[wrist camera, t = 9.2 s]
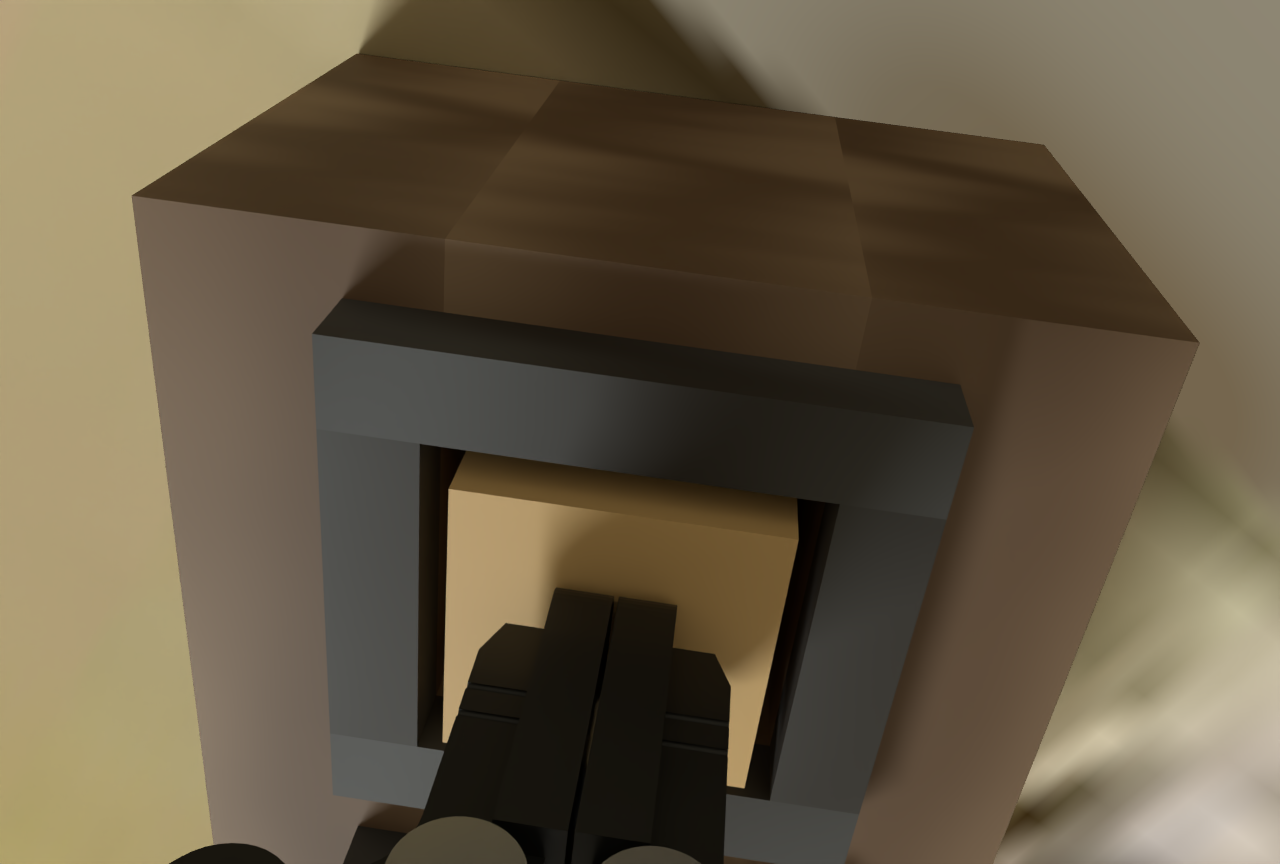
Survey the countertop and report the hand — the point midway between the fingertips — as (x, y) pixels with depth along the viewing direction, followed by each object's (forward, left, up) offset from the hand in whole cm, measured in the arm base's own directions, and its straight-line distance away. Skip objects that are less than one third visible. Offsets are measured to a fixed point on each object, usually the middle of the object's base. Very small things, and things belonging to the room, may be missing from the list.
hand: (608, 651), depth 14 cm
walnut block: (0, -4, -9) cm, 10 cm away
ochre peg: (0, 0, -8) cm, 8 cm away
